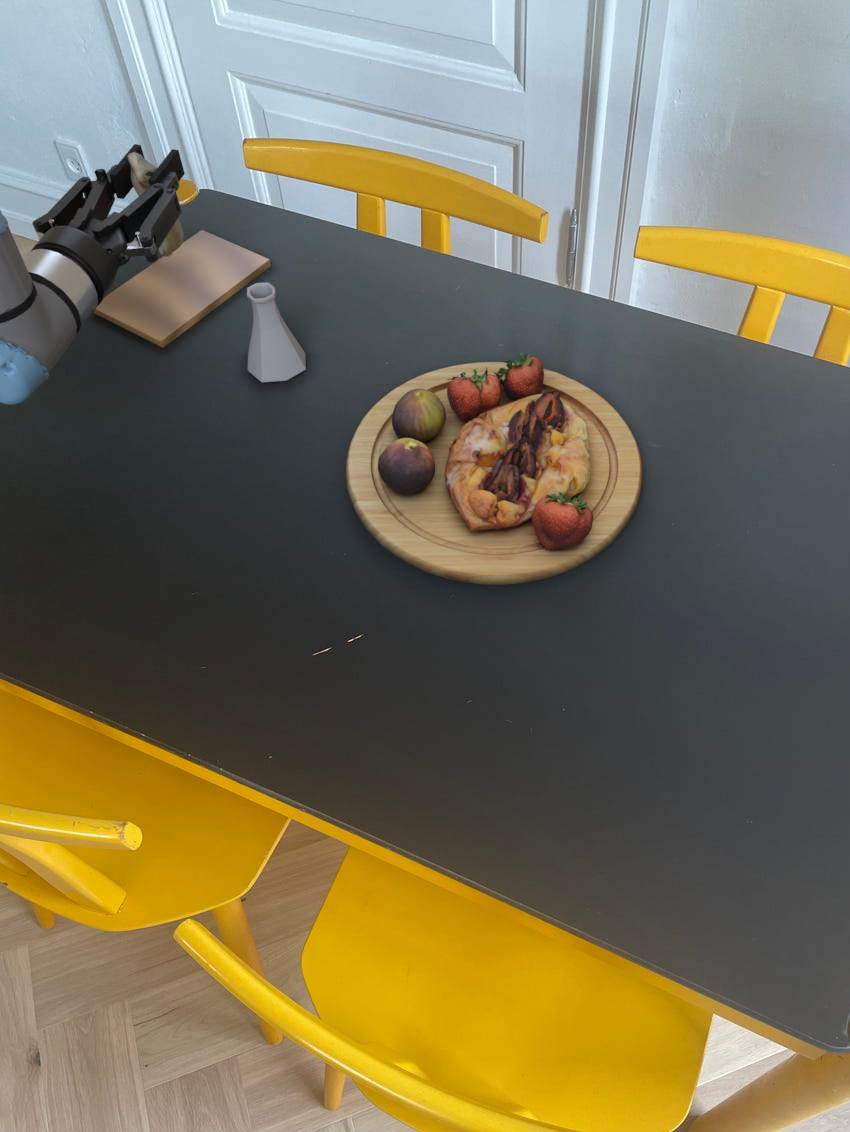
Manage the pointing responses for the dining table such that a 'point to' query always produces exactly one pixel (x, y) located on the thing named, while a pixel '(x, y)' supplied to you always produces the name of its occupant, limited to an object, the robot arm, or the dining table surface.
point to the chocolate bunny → (139, 178)
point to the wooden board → (181, 288)
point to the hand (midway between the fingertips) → (159, 159)
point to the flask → (271, 339)
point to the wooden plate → (494, 472)
